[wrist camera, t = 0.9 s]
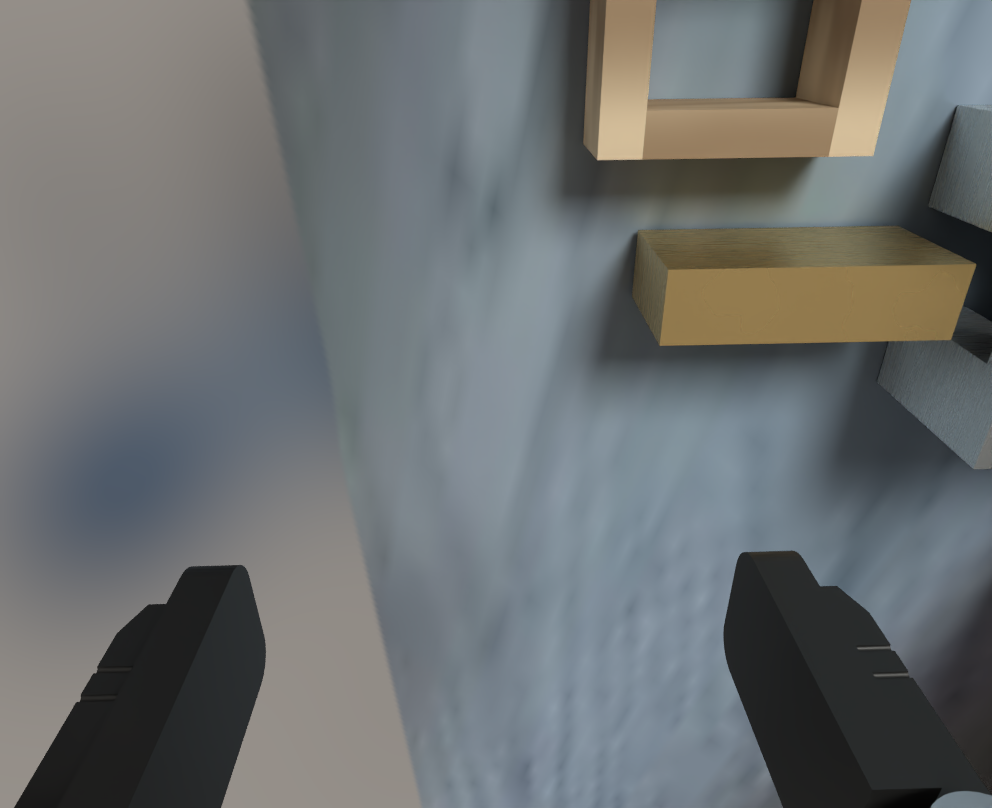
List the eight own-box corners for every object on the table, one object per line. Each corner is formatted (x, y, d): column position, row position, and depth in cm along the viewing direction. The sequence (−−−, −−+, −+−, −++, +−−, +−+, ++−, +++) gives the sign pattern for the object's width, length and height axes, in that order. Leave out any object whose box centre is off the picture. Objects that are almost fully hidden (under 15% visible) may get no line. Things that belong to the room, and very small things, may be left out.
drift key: (637, 230, 24) (668, 269, 20) (897, 225, 24) (976, 264, 20) (632, 296, 25) (659, 345, 21) (879, 291, 25) (950, 339, 21)
